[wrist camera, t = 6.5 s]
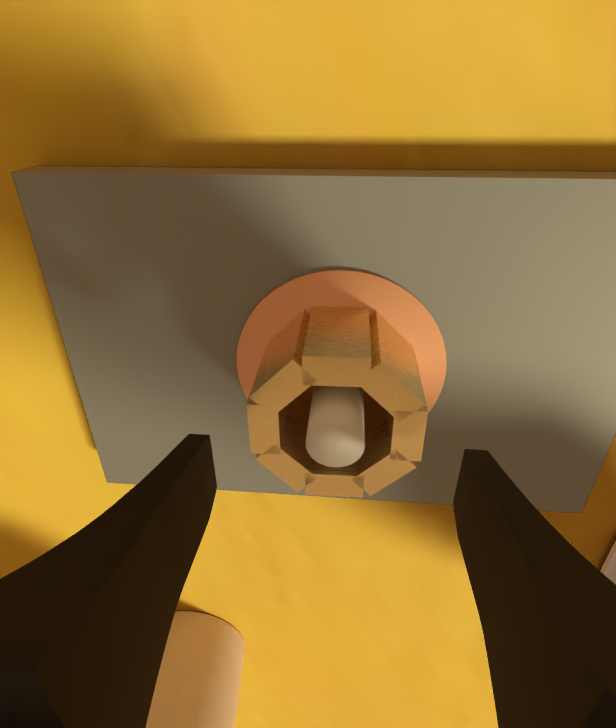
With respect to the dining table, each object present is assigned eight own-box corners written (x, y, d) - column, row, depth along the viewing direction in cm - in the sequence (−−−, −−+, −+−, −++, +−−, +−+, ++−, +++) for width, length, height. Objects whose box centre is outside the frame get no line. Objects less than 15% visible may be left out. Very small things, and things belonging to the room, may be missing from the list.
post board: (692, 172, 15) (869, 217, 10) (568, 488, 22) (632, 610, 17) (38, 165, 17) (-105, 201, 11) (120, 461, 24) (55, 564, 19)
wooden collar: (420, 308, 16) (435, 360, 13) (405, 434, 19) (415, 500, 16) (262, 305, 17) (241, 354, 14) (270, 427, 20) (254, 491, 16)
